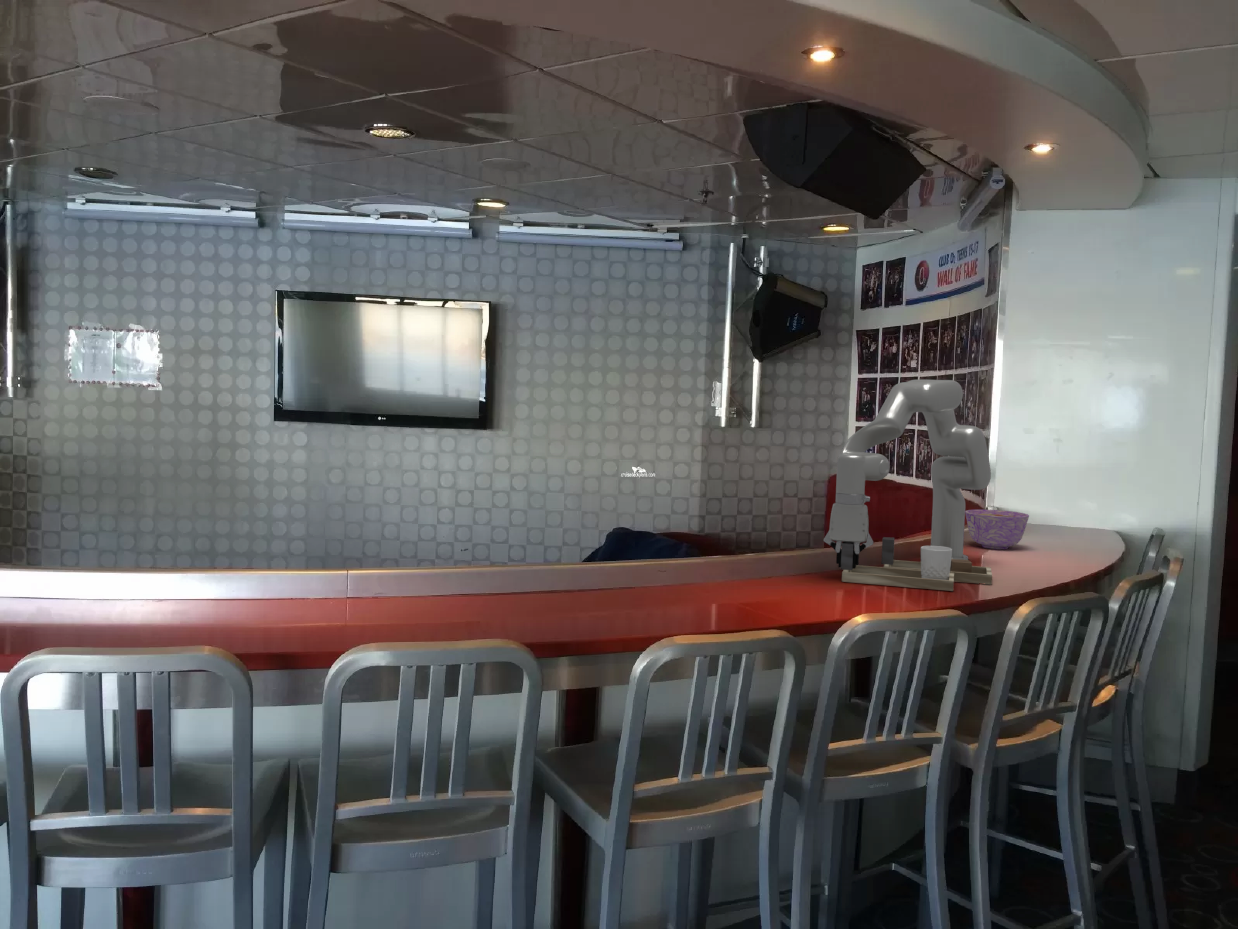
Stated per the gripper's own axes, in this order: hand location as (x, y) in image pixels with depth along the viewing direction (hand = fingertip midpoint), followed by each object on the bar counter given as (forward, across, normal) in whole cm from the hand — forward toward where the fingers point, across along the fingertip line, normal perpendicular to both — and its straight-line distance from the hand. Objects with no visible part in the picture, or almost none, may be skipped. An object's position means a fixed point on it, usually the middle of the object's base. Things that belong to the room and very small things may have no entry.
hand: (847, 566), depth 264 cm
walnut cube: (+3, -29, -14) cm, 32 cm away
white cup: (+3, -23, 0) cm, 23 cm away
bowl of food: (+4, -40, -80) cm, 90 cm away
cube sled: (+3, -23, -14) cm, 27 cm away
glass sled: (+3, -13, 0) cm, 14 cm away
